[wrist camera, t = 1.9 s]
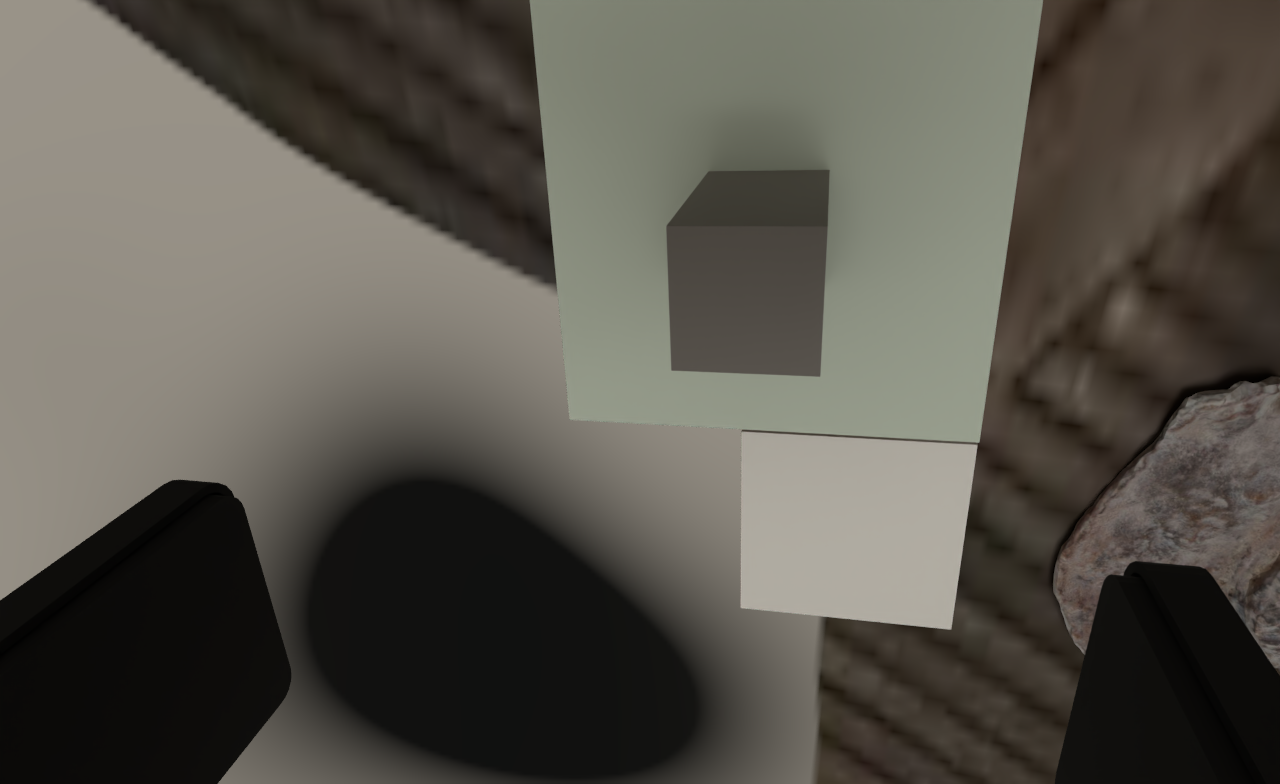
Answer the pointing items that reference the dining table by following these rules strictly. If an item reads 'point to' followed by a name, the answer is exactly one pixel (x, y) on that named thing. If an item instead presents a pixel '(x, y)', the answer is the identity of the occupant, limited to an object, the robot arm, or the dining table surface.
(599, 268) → the lid
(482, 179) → the dining table surface
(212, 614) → the robot arm
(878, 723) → the dining table surface
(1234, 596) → the fossil
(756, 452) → the stone tile
